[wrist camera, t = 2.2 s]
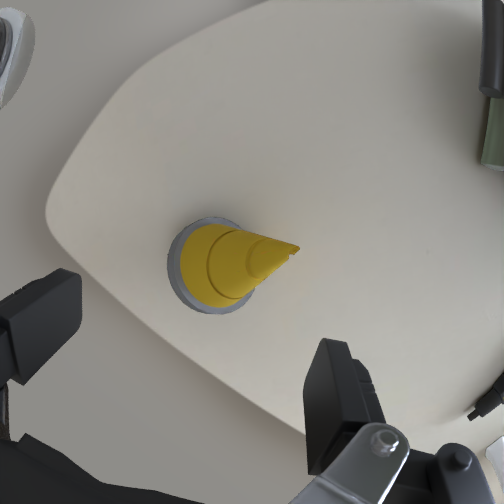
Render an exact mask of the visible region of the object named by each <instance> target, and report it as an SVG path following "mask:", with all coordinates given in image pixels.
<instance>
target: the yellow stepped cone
mask: <svg viewBox="0 0 504 504" xmlns="http://www.w3.org/2000/svg"><path fill="white" fill-rule="evenodd" d="M298 250H300V247H299V246H296V245H293V244H289V243H286V242H282V241H279V240H275V239H272V238H268V237H265V236H261V235H258V234H254V233H251V232H247V231H244V230H242V229H241V228H240V227H239V226H238V225H236V224H235V223H233V222H231V221H229V220H226V219H224V218H218V217H209V218H204V219H201V220H198V221H196V222H194V223H192V224H191V225H189V226H187V227H185V228H184V229H183V230H182V231H181V232H180V233H179V234H178V235H177V236H176V238H175V239H174V240H173V243H172V245H171V247H170V250H169V254H167V255H168V259H167V270H168V277H169V280H170V283H171V286H172V288H173V290H174V291H175V293H176V295H177V296H178V297H179V298H180V300H181V301H182V302H183V303H184V304H186V305H187V306H188V307H190V308H191V309H193V310H195V311H197V312H201V313H205V314H226V313H230V312H233V311H235V310H237V309H239V308H240V307H241V306H242V305H244V304H245V303H246V302H247V300H248V299H249V298H250V297H251V295H252V293H253V291H254V289H255V287H256V286H257V285H258V284H260V283H261V282H262V281H263V280H264V279H266V278H267V277H268V276H269V275H270V274H272V273H273V272H274V271H275V270H276V269H278V268H279V267H280V266H281V265H282V264H283V263H285V262H286V261H287V260H288V259H289V254H293V255H294V254H295V253H296V252H297V251H298Z"/></svg>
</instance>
